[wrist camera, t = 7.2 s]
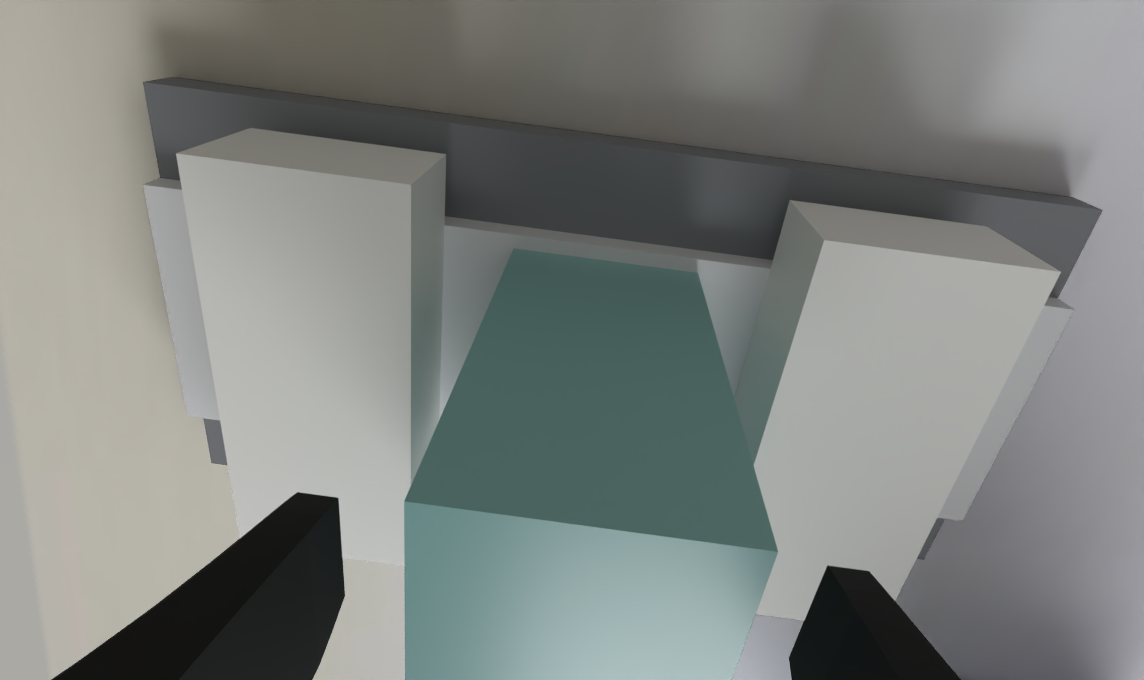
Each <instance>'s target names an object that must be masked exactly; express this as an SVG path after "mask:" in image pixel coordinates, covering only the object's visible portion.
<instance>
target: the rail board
mask: <svg viewBox="0 0 1144 680" xmlns="http://www.w3.org/2000/svg"><path fill="white" fill-rule="evenodd" d="M143 84H144V90H145V95H146V101H147V106H148V112H149V117H150V123H151V129H152V134H153V140H154V145H155V151H156V156H157V162H158V168H159V173H160V178H159V179H156V180H154V181H151V182H149V183H146V184H143V189H144V194H145V199H146V204H147V209H148V214H149V220H150V225H151V230H152V235H153V240H154V245H155V251H156V256H157V261H158V266H159V271H160V277H161V282H162V287H163V292H164V297H165V302H166V308H167V313H168V318H169V323H170V328H171V333H172V339H173V344H174V349H175V354H176V359H177V365H178V370H179V375H180V380H181V385H182V390H183V396H184V401H185V406H186V411H187V416H190V417H197V418H204V424H205V429H206V435H207V440H208V446H209V452H210V457H211V463H215V464H222V465H228V471H229V477H230V483H231V489H232V495H233V501H234V507H235V513H236V519H237V525H238V531H239V538H241V537H242V536H244V535H245V534H246V533H247V532H248V531H250V530H251V529H252V528H253V527H254V526H256V525H257V524H258V523H259V522H261V521H262V520H263V519H264V518H265V517H267V516H268V515H269V514H270V513H271V512H273V511H274V510H275V509H276V508H278V507H279V506H280V505H281V504H283V503H284V502H285V501H286V500H288V499H289V498H290V497H291V496H293V495H294V494H296V493H297V492H300V493H308V494H315V495H322V496H329V497H337V498H339V514H340V529H341V545H342V558H346V559H354V560H361V561H368V562H376V563H383V564H390V565H398V566H405V564H404V500H405V498H406V496H407V494H408V491H409V489H410V487H411V484H412V482H413V480H414V477H415V475H416V473H417V470H418V468H419V466H420V463H421V461H422V459H423V457H424V454H425V452H426V450H427V447H428V445H429V443H430V440H431V438H432V436H433V433H434V431H435V429H436V426H437V424H438V422H439V420H440V417H441V415H442V413H443V410H444V408H445V406H446V403H447V401H448V399H449V396H450V394H451V392H452V389H453V387H454V385H455V382H456V380H457V378H458V376H459V373H460V371H461V369H462V366H463V364H464V362H465V359H466V357H467V355H468V352H469V350H470V348H471V345H472V343H473V341H474V339H475V336H476V334H477V332H478V329H479V327H480V325H481V322H482V320H483V318H484V315H485V313H486V311H487V308H488V306H489V304H490V302H491V299H492V297H493V295H494V292H495V290H496V288H497V285H498V283H499V281H500V278H501V276H502V274H503V271H504V269H505V267H506V265H507V262H508V260H509V258H510V255H511V253H512V251H513V248H515V249H523V250H530V251H538V252H545V253H553V254H560V255H568V256H575V257H583V258H590V259H598V260H605V261H613V262H620V263H628V264H635V265H643V266H650V267H658V268H665V269H673V270H680V271H688V272H695V273H698V275H699V278H700V282H701V285H702V289H703V292H704V296H705V299H706V302H707V306H708V309H709V313H710V316H711V320H712V323H713V327H714V330H715V334H716V337H717V341H718V344H719V348H720V351H721V355H722V358H723V362H724V365H725V368H726V372H727V375H728V379H729V382H730V386H731V389H732V393H733V396H734V400H735V403H736V407H737V410H738V414H739V417H740V421H741V424H742V428H743V431H744V434H745V438H746V441H747V445H748V448H749V452H750V455H751V459H752V462H753V466H754V469H755V473H756V476H757V480H758V483H759V487H760V490H761V494H762V497H763V501H764V504H765V507H766V511H767V514H768V518H769V521H770V525H771V528H772V532H773V535H774V539H775V542H776V546H777V549H778V554H777V557H776V560H775V562H774V565H773V568H772V571H771V573H770V576H769V579H768V582H767V584H766V587H765V590H764V593H763V595H762V598H761V601H760V604H759V606H758V609H757V612H756V614H757V615H765V616H772V617H779V618H787V619H794V620H802V621H804V620H805V618H806V616H807V613H808V611H809V608H810V606H811V604H812V601H813V599H814V596H815V594H816V591H817V589H818V587H819V584H820V582H821V579H822V577H823V575H824V572H825V570H826V567H827V565H829V566H836V567H843V568H850V569H857V570H865V571H869V572H870V573H871V574H872V575H873V576H874V577H875V578H876V580H877V581H878V582H879V583H880V584H881V585H882V586H883V588H884V589H885V590H886V591H887V592H888V594H889V595H890V596H891V597H892V598H893V599H894V601H896V599H897V597H898V595H899V593H900V591H901V589H902V587H903V585H904V583H905V581H906V579H907V577H908V575H909V573H910V571H911V569H912V567H913V565H914V563H915V561H916V559H922V560H924V558H925V556H926V554H927V552H928V551H929V549H930V547H931V545H932V543H933V541H934V539H935V537H936V535H937V533H938V531H939V529H940V527H941V525H942V523H943V521H944V519H950V520H958V521H963V519H964V517H965V515H966V513H967V512H968V510H969V508H970V506H971V504H972V502H973V500H974V498H975V496H976V495H977V493H978V491H979V489H980V487H981V485H982V483H983V481H984V479H985V478H986V476H987V474H988V472H989V470H990V468H991V466H992V464H993V462H994V461H995V459H996V457H997V455H998V453H999V451H1000V449H1001V447H1002V445H1003V444H1004V442H1005V440H1006V438H1007V436H1008V434H1009V432H1010V430H1011V428H1012V427H1013V425H1014V423H1015V421H1016V419H1017V417H1018V415H1019V413H1020V411H1021V410H1022V408H1023V406H1024V404H1025V402H1026V400H1027V398H1028V396H1029V394H1030V393H1031V391H1032V389H1033V387H1034V385H1035V383H1036V381H1037V379H1038V378H1039V376H1040V374H1041V372H1042V370H1043V368H1044V366H1045V364H1046V362H1047V361H1048V359H1049V357H1050V355H1051V353H1052V351H1053V349H1054V347H1055V345H1056V344H1057V342H1058V340H1059V338H1060V336H1061V334H1062V332H1063V330H1064V328H1065V327H1066V325H1067V323H1068V321H1069V319H1070V317H1071V315H1072V313H1073V311H1074V309H1073V308H1071V307H1070V306H1068V305H1067V304H1065V303H1064V302H1062V301H1061V300H1059V299H1058V296H1059V294H1060V293H1061V291H1062V289H1063V287H1064V285H1065V283H1066V281H1067V279H1068V277H1069V275H1070V273H1071V271H1072V269H1073V267H1074V265H1075V263H1076V261H1077V259H1078V257H1079V255H1080V253H1081V251H1082V250H1083V248H1084V246H1085V244H1086V242H1087V240H1088V238H1089V236H1090V234H1091V232H1092V230H1093V228H1094V226H1095V224H1096V222H1097V220H1098V218H1099V216H1100V214H1101V212H1102V210H1101V209H1099V208H1096V207H1094V206H1092V205H1089V204H1087V203H1085V202H1082V201H1080V200H1078V199H1075V198H1073V197H1067V196H1059V195H1052V194H1044V193H1037V192H1029V191H1022V190H1014V189H1007V188H999V187H992V186H984V185H977V184H969V183H962V182H954V181H947V180H939V179H932V178H924V177H917V176H909V175H902V174H894V173H887V172H879V171H872V170H864V169H857V168H849V167H842V166H834V165H827V164H819V163H812V162H804V161H797V160H789V159H782V158H774V157H767V156H759V155H752V154H744V153H737V152H729V151H722V150H715V149H707V148H700V147H692V146H685V145H677V144H670V143H662V142H655V141H647V140H640V139H632V138H625V137H617V136H610V135H602V134H595V133H587V132H580V131H572V130H565V129H557V128H550V127H542V126H535V125H527V124H520V123H512V122H505V121H497V120H490V119H482V118H475V117H467V116H460V115H452V114H445V113H437V112H430V111H422V110H415V109H407V108H400V107H392V106H385V105H377V104H370V103H362V102H355V101H347V100H340V99H332V98H325V97H317V96H310V95H302V94H295V93H287V92H280V91H273V90H265V89H258V88H250V87H243V86H235V85H228V84H220V83H213V82H205V81H198V80H190V79H183V78H175V77H171V78H165V79H159V80H153V81H147V82H143Z"/></svg>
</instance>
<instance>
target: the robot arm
mask: <svg viewBox="0 0 1144 680" xmlns="http://www.w3.org/2000/svg"><path fill="white" fill-rule="evenodd" d="M344 597H345V591H344V576H343V560H342V545H341V529H340V514H339V498H337V497H329V496H322V495H315V494H308V493H300V492H297V493H296V494H294V495H293V496H291V497H290V498H289V499H288V500H286V501H285V502H284V503H283V504H281V505H280V506H279V507H278V508H276V509H275V510H274V511H273V512H271V513H270V514H269V515H268V516H267V517H265V518H264V519H263V520H262V521H261V522H259V523H258V524H257V525H256V526H254V527H253V528H252V529H251V530H250V531H248V532H247V533H246V534H245V535H244V536H242V537H241V538H240V539H239V540H237V541H236V542H235V543H234V544H232V545H231V546H230V547H229V548H228V549H226V550H225V551H224V552H223V553H221V554H220V555H219V556H218V557H216V558H215V559H214V560H213V561H211V562H210V563H209V564H208V565H206V566H205V567H204V568H203V569H201V570H200V571H199V572H197V573H196V574H195V575H194V576H192V577H191V578H190V579H188V580H187V581H186V582H185V583H183V584H182V585H181V586H180V587H178V588H177V589H176V590H174V591H173V592H172V593H171V594H169V595H168V596H167V597H165V598H164V599H163V600H162V601H160V602H159V603H158V604H156V605H155V606H154V607H152V608H151V609H150V610H148V611H147V612H146V613H144V614H143V615H142V616H140V617H139V618H137V619H136V620H135V621H133V622H132V623H131V624H129V625H128V626H126V627H125V628H124V629H122V630H121V631H120V632H118V633H117V634H115V635H114V636H113V637H111V638H110V639H108V640H107V641H106V642H104V643H103V644H102V645H100V646H99V647H97V648H96V649H95V650H93V651H92V652H91V653H89V654H88V655H86V656H85V657H84V658H82V659H81V660H79V661H78V662H76V663H75V664H74V665H72V666H71V667H69V668H68V669H66V670H65V671H63V672H62V673H60V674H59V675H57V676H56V677H55V678H53V679H52V680H312V679H313V677H314V675H315V673H316V671H317V669H318V667H319V665H320V662H321V659H322V657H323V654H324V651H325V649H326V646H327V644H328V641H329V638H330V636H331V633H332V630H333V627H334V625H335V622H336V619H337V616H338V613H339V611H340V608H341V605H342V602H343V599H344ZM789 661H790V669H791V676H792V680H961V679H960V678H959V677H958V676H957V675H956V673H955V672H954V671H953V670H952V669H951V668H950V666H949V665H948V664H947V663H946V662H945V660H944V659H943V658H942V657H941V656H940V655H939V653H938V652H937V651H936V650H935V649H934V647H933V646H932V645H931V644H930V643H929V641H928V640H927V639H926V638H925V637H924V635H923V634H922V633H921V632H920V631H919V629H918V628H917V627H916V626H915V625H914V623H913V622H912V621H911V620H910V619H909V617H908V616H907V615H906V614H905V613H904V611H903V610H902V609H901V608H900V607H899V605H898V604H897V603H896V602H895V601H894V599H893V598H892V597H891V596H890V595H889V594H888V592H887V591H886V590H885V589H884V588H883V586H882V585H881V584H880V583H879V582H878V581H877V580H876V578H875V577H874V576H873V575H872V574H871V573H870V572H869V571H865V570H857V569H850V568H843V567H836V566H829V565H827V567H826V570H825V572H824V575H823V577H822V579H821V582H820V584H819V587H818V589H817V591H816V594H815V596H814V599H813V601H812V604H811V606H810V608H809V611H808V613H807V616H806V618H805V620H804V623H803V625H802V628H801V630H800V632H799V635H798V637H797V640H796V642H795V644H794V647H793V649H792V652H791V654H790V657H789Z"/></svg>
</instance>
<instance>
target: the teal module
mask: <svg viewBox="0 0 1144 680" xmlns="http://www.w3.org/2000/svg"><path fill="white" fill-rule="evenodd" d="M777 554H778V549H777V546H776V542H775V539H774V535H773V532H772V528H771V525H770V521H769V518H768V514H767V511H766V507H765V504H764V501H763V497H762V494H761V490H760V487H759V483H758V480H757V476H756V473H755V469H754V466H753V462H752V459H751V455H750V452H749V448H748V445H747V441H746V438H745V434H744V431H743V428H742V424H741V421H740V417H739V414H738V410H737V407H736V403H735V400H734V396H733V393H732V389H731V386H730V382H729V379H728V375H727V372H726V368H725V365H724V362H723V358H722V355H721V351H720V348H719V344H718V341H717V337H716V334H715V330H714V327H713V323H712V320H711V316H710V313H709V309H708V306H707V302H706V299H705V296H704V292H703V289H702V285H701V282H700V278H699V275H698V273H695V272H688V271H680V270H673V269H665V268H658V267H650V266H643V265H635V264H628V263H620V262H613V261H605V260H598V259H590V258H583V257H575V256H568V255H560V254H553V253H545V252H538V251H530V250H523V249H515V248H513V251H512V253H511V255H510V258H509V260H508V262H507V265H506V267H505V269H504V271H503V274H502V276H501V278H500V281H499V283H498V285H497V288H496V290H495V292H494V295H493V297H492V299H491V302H490V304H489V306H488V308H487V311H486V313H485V315H484V318H483V320H482V322H481V325H480V327H479V329H478V332H477V334H476V336H475V339H474V341H473V343H472V345H471V348H470V350H469V352H468V355H467V357H466V359H465V362H464V364H463V366H462V369H461V371H460V373H459V376H458V378H457V380H456V382H455V385H454V387H453V389H452V392H451V394H450V396H449V399H448V401H447V403H446V406H445V408H444V410H443V413H442V415H441V417H440V420H439V422H438V424H437V426H436V429H435V431H434V433H433V436H432V438H431V440H430V443H429V445H428V447H427V450H426V452H425V454H424V457H423V459H422V461H421V463H420V466H419V468H418V470H417V473H416V475H415V477H414V480H413V482H412V484H411V487H410V489H409V491H408V494H407V496H406V498H405V500H404V564H405V680H732V678H733V675H734V673H735V670H736V667H737V664H738V662H739V659H740V656H741V653H742V651H743V648H744V645H745V642H746V640H747V637H748V634H749V631H750V629H751V626H752V623H753V620H754V618H755V615H756V612H757V609H758V606H759V604H760V601H761V598H762V595H763V593H764V590H765V587H766V584H767V582H768V579H769V576H770V573H771V571H772V568H773V565H774V562H775V560H776V557H777Z"/></svg>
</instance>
